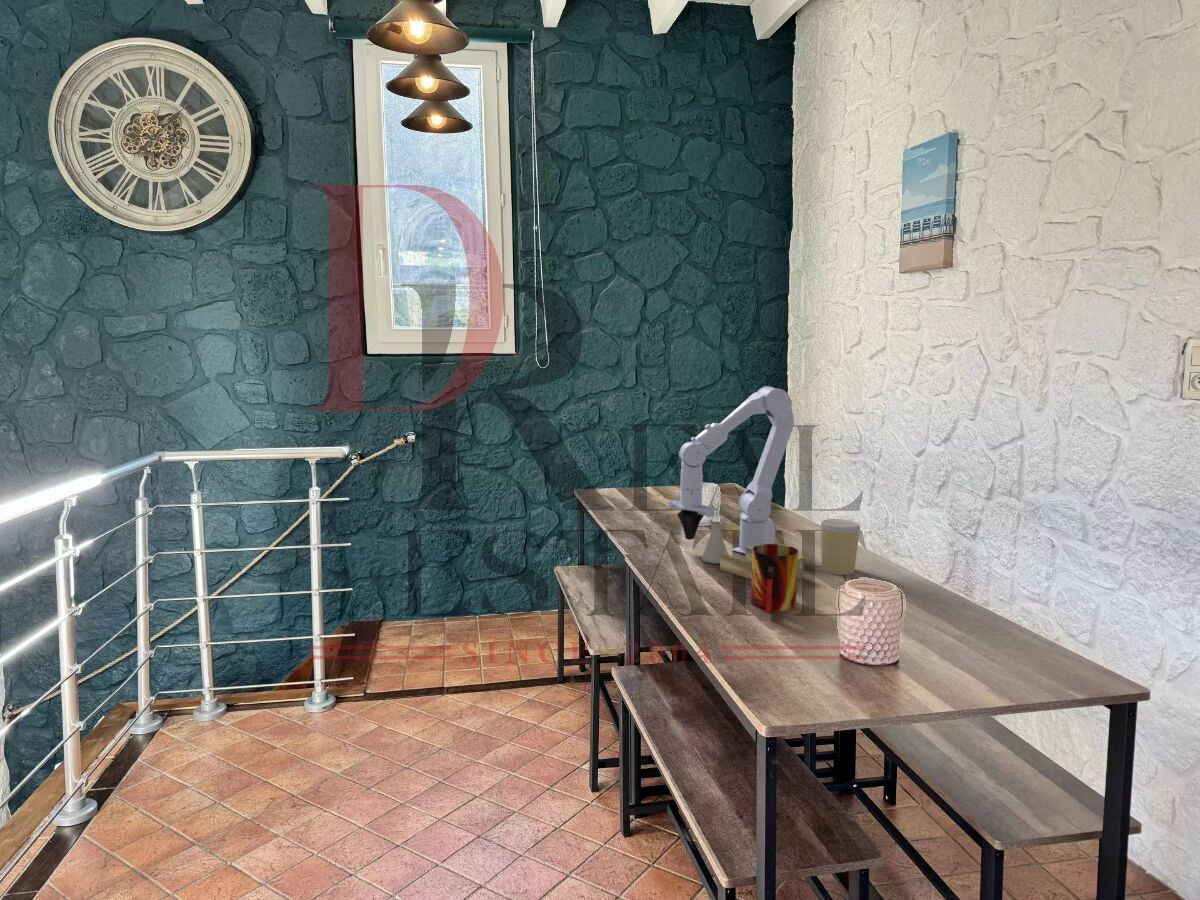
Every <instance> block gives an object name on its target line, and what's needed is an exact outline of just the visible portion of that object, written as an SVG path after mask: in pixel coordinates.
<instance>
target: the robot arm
mask: <svg viewBox="0 0 1200 900" xmlns="http://www.w3.org/2000/svg"><path fill="white" fill-rule="evenodd" d="M792 406H793V400H792V399H791V397H790V396H789V394H788V392H787V391H785V390H784V389H783V388H779V387H778V388H775V387H773V386H770V385H769V386H768V385H765V386H762V387H761V388H759V389H758V390H757V391H756V392H753V393H751V395H749V396H748V397H747V398H746V400H744V401H743V402H741V404H740V405H739V406H738V407H736V409H734V410H733V411H732V412H731V413H730V414H728V416H727V417H725V418H724V419H723V420H722V421H721V422H719V423H718V422H712V423H711V424H709V423H707V424H706V425H705V426H704V430H702V431H701V432H700V433H699V434H697V436H695V437H694V436H692V437H691V438H690V440H691V441H688V442H687V441H686V442H685V443H683V444H682V445H681V447H680V449H679V451H678V457H679V459H680V460H681V462H680V464H681V465H680V467H681V469H680V480H679V481H680V483H679V485H680V487H679V488H680V489H679V491H680V495H679V500H678V499H677V500H676V499H671V500H668V501H667V502H668V503H667V504H668V508H669V509H676V510H680V512H677V517H678V519H679V521H680V523H681V525H682V529H683V533H684V537H685V539H686V540H695V537H696V533H697V531H698V527H699V525H700V523H701V521H702V519H703V517H705V516H706V517H707V518H712V517H715V509H714V508H712V507H709V506H706V505H704V504H703V477H704V476H703V474H704V473H703V464H704V463H705V462H706V459H707V456H709V455H710V454H712V452H714V451H715V450H716V449H718V447H720V446H721V445H722V444H724V443H725V442H726V441H727V440H728V435H729V433H730V432H731V431H732V430H734V429H735V428H736V427H738V426H739V425H741V424H742V423H743V422H745V421H746V420H747V419H749V418H750V417H752V416H753V415H762V414H763V415H764V414H766V415H767V418H768V419H769V421H770V423H771V425H772V426H771V428H770V431H769V434H768V437H767V439H766V442H765V444H764V448H763V451H762V453H761V456H760V459H759V462H758V465H757V467H756V470H755V472H754V477H753V479H752V481H751V482H750V483H749V484H748V485H747V486H746V489H745V490H744V492H743V493H742V494H741V495H740V497H739V498H738V507H739V510H740V511H741V514H740V518H739V541H738V542H739V546H738V547H737V546H736V547H734V548H732V549H731V550H732V551H733V552H736V553H740V554H744V555H745V551H746V547H751V548H753V547H754V546H757V545H761V544H776V542H775V539H776V534H775V533H776V526H775V523H774V520H773V519H771V518H770V517H769V516H770V514H771V511H772V504H771V502H772V499H773V490H772V487H773V486H774V485H773V484H774V481H775V479H776V476H777V474H778V471H779V468H780V465H781V463H782V460H783V456H784V454H785V452H786V449H787V446H788V443H789V440H790V437H791V434H792V432H793V430H794V427H795V419H794V414H793V408H792Z"/></svg>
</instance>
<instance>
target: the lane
mask: <svg viewBox="0 0 1200 900" xmlns="http://www.w3.org/2000/svg"><path fill="white" fill-rule="evenodd" d="M752 553H753V548H751V547H746V551H745V554H744V558H745V559H744V558H741V557H736V556H732V555H729V554H728V555H726V554H720V564H719V570H720V571H723V572H727V573H729V574H733V575H737V576H739V577H742V578H746V579H750V580H752ZM804 569H805V557H804V556H798V570H797V581H798V580H800V579H803V578H804V572H805V571H804Z"/></svg>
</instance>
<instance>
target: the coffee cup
mask: <svg viewBox="0 0 1200 900" xmlns="http://www.w3.org/2000/svg"><path fill="white" fill-rule="evenodd" d="M820 531H821V532H820V534H821V535H820V538H821V539H820V540H821V541H820V543H821V544H820V545H821V550H820V551H821V570H822V571H823V572H825V573H827V574H832V575H837V576H838V575H839V576H848V575H852V574H854V572H855V568H856V561H857V554H858V553H857V552H858V548H859V547H858V545H859V540H860V539H859V537H860V531H861V526H860V523H859V522H856V521H854V520H851V519H844V518H827V519H824V520H822V521H821V523H820Z"/></svg>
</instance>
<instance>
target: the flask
mask: <svg viewBox="0 0 1200 900" xmlns="http://www.w3.org/2000/svg"><path fill="white" fill-rule="evenodd" d="M709 524H710V527H711V528H710V535H709V537H708V538H709V539H708V541H707V544H706V546H705V549H704V551H703V553H702V556H701V560H702V561H703V562H704V563H709V564H713V565H715V564H719V565H720V554H726V555H729V554H728V551H727V548H726V545H725V541H724V539H723V532H722V530H723V529H722V527H723V526H724V523H723V522H722V521H710V523H709Z"/></svg>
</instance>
